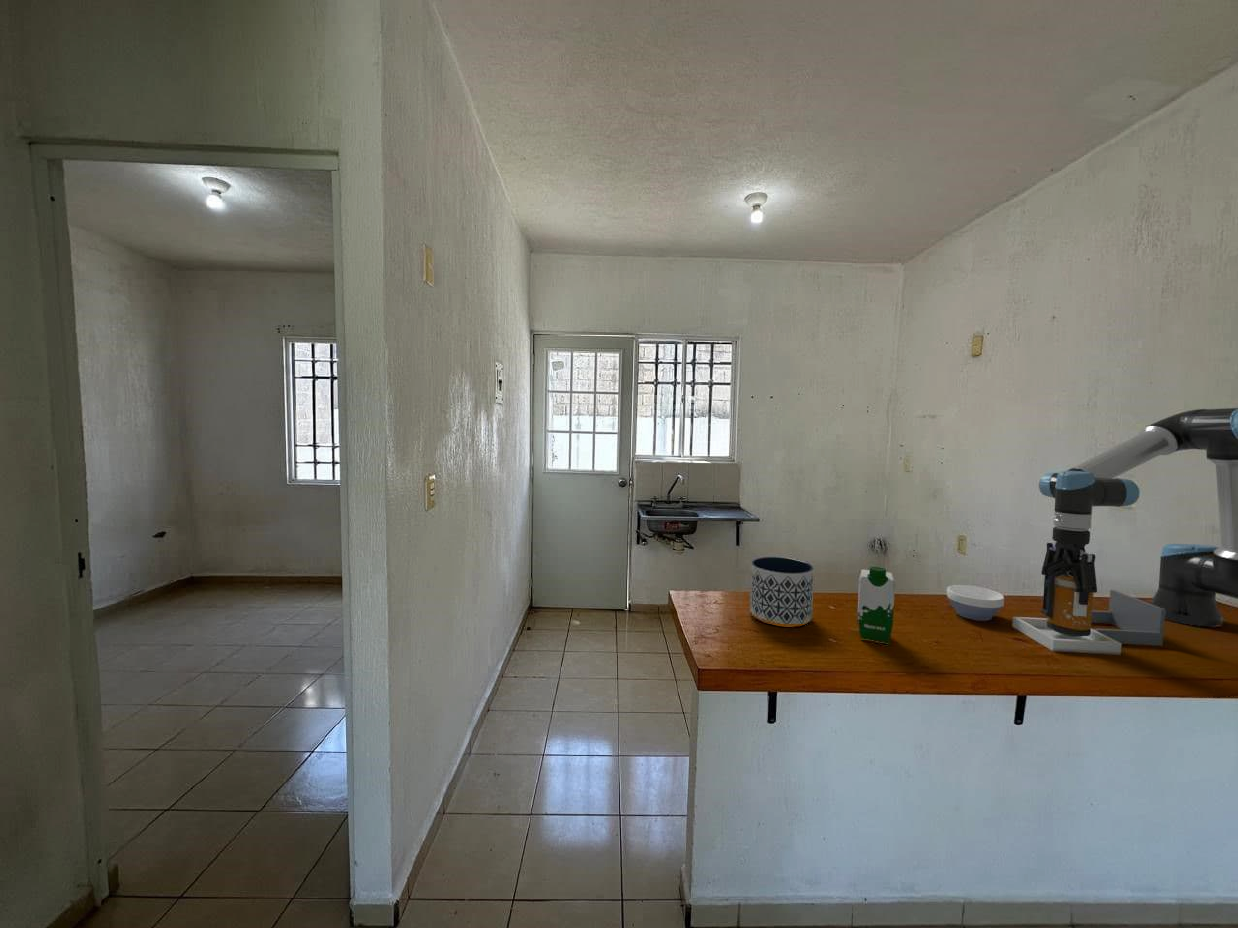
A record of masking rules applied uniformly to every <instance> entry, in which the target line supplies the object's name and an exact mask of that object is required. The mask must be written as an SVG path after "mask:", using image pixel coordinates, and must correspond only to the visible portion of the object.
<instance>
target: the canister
mask: <svg viewBox="0 0 1238 928" xmlns="http://www.w3.org/2000/svg"><path fill="white" fill-rule="evenodd" d="M1078 563H1079V562H1078ZM1042 568H1043V571H1044V574H1045V575H1044V580H1043V599H1042V600H1043V601H1042V608H1041V609H1040V611H1039V613H1042V614H1043V615H1045V616H1046V618H1047V620H1048V621H1047V627H1049V628H1050V629H1052V630H1054V631H1056V632H1058V633H1060V634H1064V635H1068V636H1074V637H1082V636H1089V635H1090V634H1091V630H1090V629H1092V623H1091V621H1092V610H1093V607H1094V606H1093V605H1094V594H1095V593H1089V600H1088V605H1087V613H1086V616H1074V615H1073V604H1074V590H1077V587H1076V583H1075V580H1074V576H1073V573H1072V569H1071V567H1070V566H1069V565H1068V562H1066V561H1061V560H1060V559H1058V560H1056V561H1054V562H1052V563H1050V564H1048V565H1046V566H1044V567H1043V566H1042V567H1041V569H1042ZM1082 588H1083V586H1082ZM1090 588H1091V587H1090Z"/></svg>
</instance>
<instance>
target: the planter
mask: <svg viewBox="0 0 1238 928" xmlns="http://www.w3.org/2000/svg"><path fill="white" fill-rule="evenodd" d="M750 564H751V565H750V591H749V592H750V594H749V596H750V597H749V598H750V599H749V612H750V611H751V612H752V614H754V615H755V616H756V617H758V618H760V619H765V620H767V621H771V622H775V623H780V624H796V625H797V624H804V623H807V622H809V621H810V620H811V619H812V620H813V601H814V600H813V599H814V598H813V597H814V577H815V576H814V569H815V568H814V566H813V565H812V564H811V563H809V562H807V561H803V560H801V559H796V558H791V557H790V558H789V557H780V556H766V557H765V556H763V557H757V558H755V559H752V560H751V563H750Z"/></svg>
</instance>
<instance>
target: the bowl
mask: <svg viewBox="0 0 1238 928" xmlns="http://www.w3.org/2000/svg"><path fill="white" fill-rule="evenodd" d="M946 597H947V598H948V600H949V602H950V604H951V606H952V608H953V609H954V610H955V612H956V614H957V615H959V616H961V617H962V618H965V619H967V620H971V619H972V621H977V622H987V621H991V620H992V619H993V617H995V616H996V615H998V613H999V612H1000V611H1001V610H1002V608H1003V607H1004V604H1005V596H1004V595H1003V594H1002V593H999V592H998V591H995V590H992V589H989V588H985V587H980V586H974V585H965V584H955V585H949V586H948V587H947V588H946Z"/></svg>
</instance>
